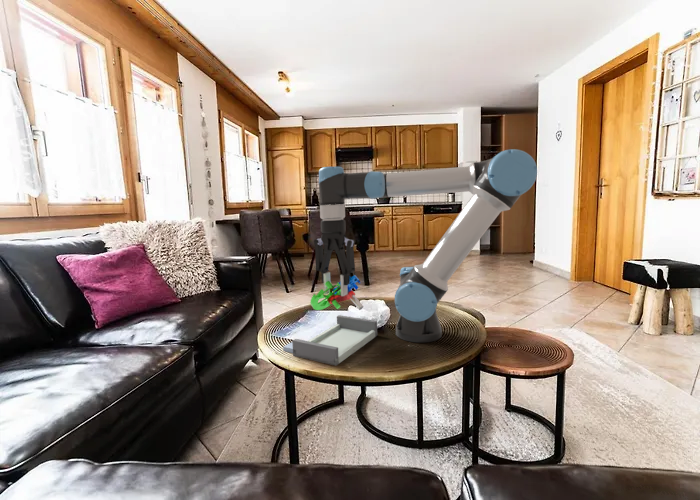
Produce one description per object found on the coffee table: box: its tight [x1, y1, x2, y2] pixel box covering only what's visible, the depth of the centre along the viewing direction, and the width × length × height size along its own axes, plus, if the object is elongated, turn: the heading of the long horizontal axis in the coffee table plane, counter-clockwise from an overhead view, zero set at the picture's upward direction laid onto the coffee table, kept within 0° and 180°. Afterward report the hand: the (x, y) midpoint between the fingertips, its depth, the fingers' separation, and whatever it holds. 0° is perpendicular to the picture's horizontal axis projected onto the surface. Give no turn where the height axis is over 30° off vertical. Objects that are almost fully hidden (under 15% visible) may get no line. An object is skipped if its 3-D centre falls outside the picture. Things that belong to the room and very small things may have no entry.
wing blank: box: [282, 338, 306, 354], centre depth 112 cm, size 7×4×2 cm, turn 148°
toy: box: [310, 274, 364, 311], centre depth 112 cm, size 20×10×11 cm
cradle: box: [291, 314, 378, 367], centre depth 114 cm, size 15×26×5 cm, turn 150°
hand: (335, 294), depth 112 cm, fingers closed on toy, 5 cm apart
